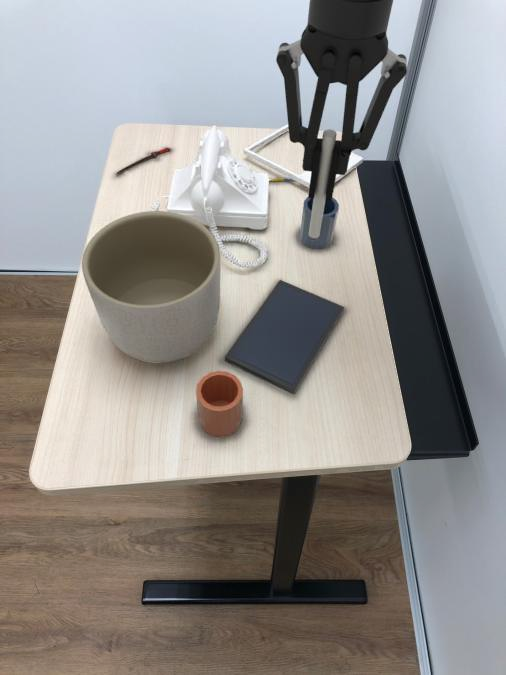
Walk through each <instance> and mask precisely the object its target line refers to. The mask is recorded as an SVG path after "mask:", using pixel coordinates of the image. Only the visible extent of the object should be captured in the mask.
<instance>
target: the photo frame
mask: <svg viewBox="0 0 506 675" xmlns="http://www.w3.org/2000/svg"><path fill="white" fill-rule="evenodd" d="M286 132H289V127H288V123H287V124H285V125H284V126H282V127H280V128H278V129H277V130H275V131H273V132H271V133H270V134H268V135H265V137H263V138H261V139H259V140H258V141H256V142H254V143H252V144H250V145H248V146H247V147H245V148H243V150H242V151H243V152H242V155H245V156H246V157H248V158H250V159H252V160H254V161H256V162H258V163H260V164H262V165H264V166H266V167H268V168H269V169H272V170H273V171H275V172H277V173H279V174H282V175H283V176H285V177H287V178H288V179H293V180H292V181H294V182H296V183H299V184H301V185H303V186H304V187H307V188H308V189H309V187H310V179H311V171H303V172H302V173H300V174H297V173H296V172H293V171H291V170H289V169H287V168H286V167H285V166H284V167H283V166H282V165H280V164H278V163H276V162H274V161H272V160H270V159H268V158H266V157H264V156H262V155H260V154H259V153H257V152H254V151H256V150H258V149H259V148H261V147H262V146H264V145H267V144H268V143H270V142H271V141H273V140H274V139H276V138H278V137H280V136H281V135H283V134H285V133H286ZM317 138H321V139H322V138H323V137H320V136H318V137H317ZM363 162H364V157H362V156H360V155H358V154H356V153H354V152H353V151H352V152H351V155H350V157H349V162H348V167H347V172H346V173H345V175H339V174H336V179H335V183H337V182H338V181H339V180H341V179H342V178H343V177H345V176H347V175H348V174H349V173H350V172H351V171H353V170H354V169H356V168H357V167H358V166H360V165H361V164H363Z"/></svg>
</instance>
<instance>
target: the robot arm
mask: <svg viewBox="0 0 506 675" xmlns="http://www.w3.org/2000/svg"><path fill="white" fill-rule="evenodd" d="M393 4H394V0H309V4H308V14H307V24H306V26H305V28H304V30H303V31H302V33H301V36H300V39H298V40H296V41H294V42H292V43H288V42H282V43H280V45H279V47H278V49H277V50H278V51H277V54H276V57H275V58H276V59H275V61H276V64H277V66H278V69H279V70H280V73H281V75H282V77H283V83H284V84H283V85H284V92H285V104H286V114H287V115H286V116H287V124H288V127H289V130H288V137H289V138H288V139H289V141H290V142H291V143H293V144H296V143H299V144H301V145H302V146H303V158H302V166H301V167H302V170H303V172H305V171H311V179H310V187H309V188H308V194H307V195H308V196H307V197H308V198H313V199H314V196H315V189H316V182H317V176H318V169H319V162H320V155H321V148H322V146H321V145H322V139H321V138H322V137H320V138H317V137H319V132H320V128H321V123H322V119H323V114H324V110H325V107H326V106H325V105H326V101H327V96H328V92H329V88H330V84H336V83H339V84H342V85H344V86H346V88H345V98H344V107H343V108H344V109H343V117H342V118H343V119H342V129H341V139H340V140H339V139H338V140H337V139H336V141H335V147H334V151H333V156H332V162H331V168H330V174H329V180H328V186H327V192H326V200H330V201H332V197H333V196H334V189H335V184H336V182H335V179H336V174H339V175H345V173H346V172H347V167H348V162H349V157H350V155H351V152H352V153H353V151H355V150H360V151H366V150H368V149H369V146H370V144H371V142H372V140H373V138H374V135H375V133H376V130H377V128H378V126H379V123H380V121H381V119H382V116H383V114H384V112H385V110H386V107H387V104H388V102H389V100H390V98H391V96H392V94H393V90H394V89H395V88H396V87H397V86H398V84H399V83H400V82H401V81H402V80H403V79H404V78H405V77H406V75H407V73H408V63H407V56H406V55H405V54H402V53H399V54H397V53H395V52H394V51H392V50H391V49H390V48H389V40H388V35H387V31H388V27H389V22H390V17H391V13H392V9H393ZM302 55H304V56H305V58H306V60H307V62H308V64H309V66H310V67H311V69H312V71H313V72H314V74H315V76H316V78H317V81H316V85H315V90H314V96H313V101H312V106H311V110H310V114H309V119H308V125H307V126H304V125H303V114H302V103H301V101H302V100H301V88H300V75H299V74H300V73H299V72H300V71H299V67H300V66H301V62H302ZM380 63H382V64H381V66H380V75H381V76H380V78H379V80H378V83H377V85H376V88H375V90H374V93H373V95H372V98H371V101H370V103H369V106H368V108H367V110H366V113H365V115H364V118H363V120H362V122H361V125H360V127H359V130H358V131H357V132H354V130H355V121H356V114H357V104H358V95H359V88H360V82H361V81H363V80H364V79H365V78H366V77H367V76H368V75H369V74H370V73H371V72H372V71H373V70H374V69H376V68H377V66H379V64H380ZM345 176H346V175H345Z"/></svg>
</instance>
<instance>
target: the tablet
mask: <svg viewBox="0 0 506 675" xmlns="http://www.w3.org/2000/svg"><path fill="white" fill-rule="evenodd" d="M344 311H345V306H343V305H341V304H339V303H336V302H334V301H331V300H329V299H327V298H325V297H322V296H319V295H318V294H315V293H312V292H310V291H307V290H305V289H303V288H301V287H298V286H297V285H296V286H295V285H294V284H291V283H289V282H286V281H284V280H281V279H279V280H278V282H277V283H276V285H275V286H274V287H273V289H272V290H271V292H270V293H269V294H268V296H267V297H266V299H265V300H264V301H263V303H262V304H261V306H260V307H259V308H258V310H257V311H256V312H255V314H254V315H253V317H252V318H251V320H250V321H249V322H248V324H247V325H246V326H245V328H244V329H243V331H242V332H241V334H239V336H238V337H237V339H236V340H235V342H234V343H233V345H232V346H231V347H230V349H229V350H228V352H227V353H226V354H225V356H224V361H225V362H227V363H229V364H231V365H233V366H234V367H237V368H239V369H241V370H243V371H245V372H246V373H247V372H248V373H250V374H251V375H253V376H255V377H257V378H260V379H262V380H264V381H266V382H268V383H270V384H272V385H275V386H277V387H278V388H281V389H283V391H287V392H288V393H291V394H293V395H295V394H296V392H297V389H298V388H299V386H300V385H301V384H302V382H303V380H304V378H305V376H306V375H307V373H308V372H309V370H310V368H311V366H312V365H313V363H314V362H315V359H316V358H317V356H318V355H319V353H320V351H321V349H323V346H324V344H325V343H326V341H327V339H328V338H329V336H330V334H331V333H332V331H333V329H334V328H335V326H336V324H337V323H338V321H339V319H340V317H341V316H342V314H343V312H344Z"/></svg>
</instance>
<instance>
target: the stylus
mask: <svg viewBox="0 0 506 675" xmlns="http://www.w3.org/2000/svg"><path fill="white" fill-rule="evenodd" d="M337 134H338V133H337V132H336V130H335V129H331V128H329V129H325V130H324V131H323V133H322V137H321V138H322V145H321V146H322V148H321V155H320V162H319V169H318V176H317V182H316V189H315V196H314V199H313V206H312V213H311V220H310V227H309V236H310V240H311V241H316V240H317V238H318V237H319V236H320V230H321V224H322V218H323V212H324V206H325V200H326V192H327V186H328V180H329V174H330V168H331V162H332V156H333V151H334V147H335V141H336V140H337Z"/></svg>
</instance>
